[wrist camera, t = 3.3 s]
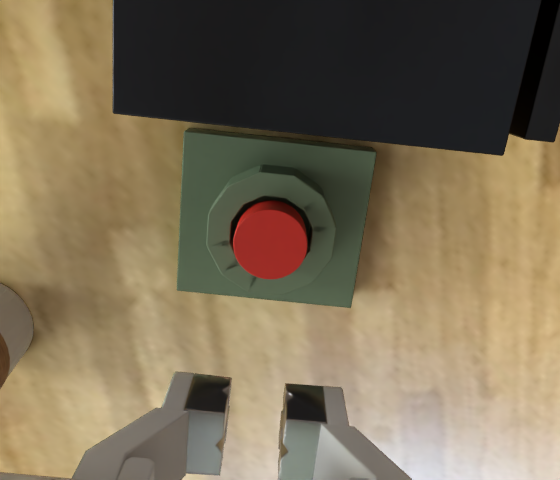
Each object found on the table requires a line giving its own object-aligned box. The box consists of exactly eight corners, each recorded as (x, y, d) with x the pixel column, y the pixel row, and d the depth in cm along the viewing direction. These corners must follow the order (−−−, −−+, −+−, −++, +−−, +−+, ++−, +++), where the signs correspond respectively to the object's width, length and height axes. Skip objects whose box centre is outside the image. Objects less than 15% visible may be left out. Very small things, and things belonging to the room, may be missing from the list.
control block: (372, 147, 29) (383, 158, 25) (348, 297, 32) (355, 325, 28) (188, 127, 28) (175, 136, 25) (181, 280, 31) (169, 306, 28)
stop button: (310, 203, 27) (311, 213, 25) (301, 269, 28) (302, 283, 26) (239, 196, 27) (235, 205, 25) (233, 262, 28) (230, 275, 26)
